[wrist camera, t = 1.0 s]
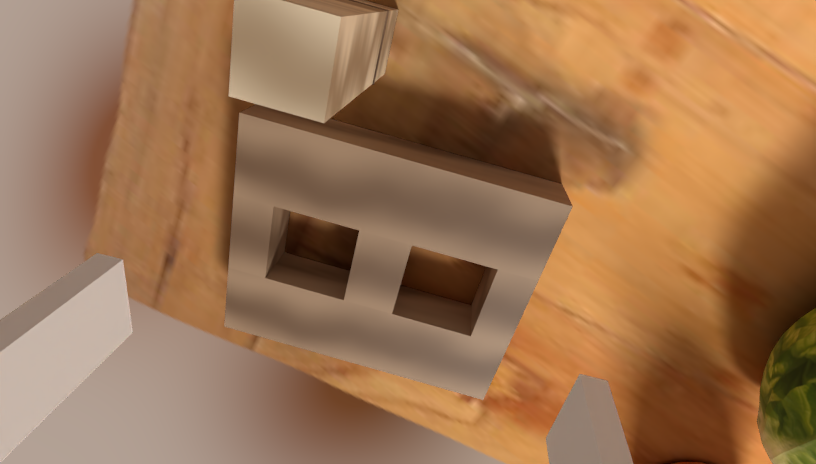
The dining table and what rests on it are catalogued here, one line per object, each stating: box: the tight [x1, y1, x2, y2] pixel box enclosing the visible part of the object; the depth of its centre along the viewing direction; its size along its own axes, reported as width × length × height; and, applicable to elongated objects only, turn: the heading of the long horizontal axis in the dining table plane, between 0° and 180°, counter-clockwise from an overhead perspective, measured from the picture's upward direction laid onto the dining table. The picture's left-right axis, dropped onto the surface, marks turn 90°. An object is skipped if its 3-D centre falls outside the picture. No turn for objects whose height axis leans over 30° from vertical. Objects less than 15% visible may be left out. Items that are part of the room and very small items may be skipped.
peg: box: [229, 0, 398, 123], centre depth 24 cm, size 4×4×14 cm
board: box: [224, 104, 573, 400], centre depth 35 cm, size 18×22×4 cm
